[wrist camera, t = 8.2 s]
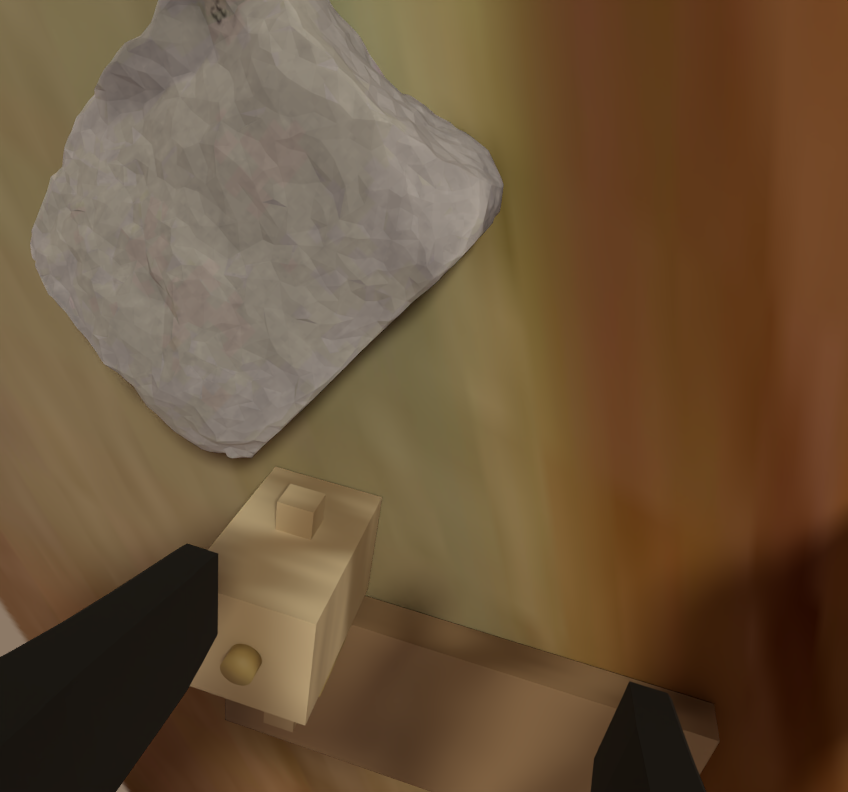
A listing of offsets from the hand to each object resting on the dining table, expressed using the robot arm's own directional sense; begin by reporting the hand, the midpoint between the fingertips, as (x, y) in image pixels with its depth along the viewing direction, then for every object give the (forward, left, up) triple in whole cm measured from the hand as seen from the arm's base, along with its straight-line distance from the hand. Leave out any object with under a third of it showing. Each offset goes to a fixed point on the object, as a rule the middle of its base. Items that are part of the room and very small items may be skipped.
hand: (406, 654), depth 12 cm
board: (-1, +14, -10) cm, 17 cm away
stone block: (+8, -4, -11) cm, 14 cm away
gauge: (+5, +9, -10) cm, 15 cm away
